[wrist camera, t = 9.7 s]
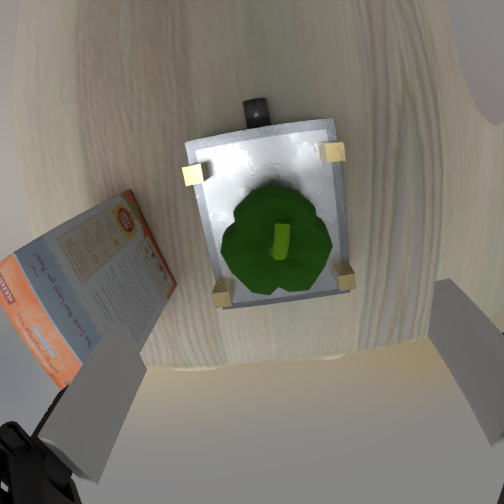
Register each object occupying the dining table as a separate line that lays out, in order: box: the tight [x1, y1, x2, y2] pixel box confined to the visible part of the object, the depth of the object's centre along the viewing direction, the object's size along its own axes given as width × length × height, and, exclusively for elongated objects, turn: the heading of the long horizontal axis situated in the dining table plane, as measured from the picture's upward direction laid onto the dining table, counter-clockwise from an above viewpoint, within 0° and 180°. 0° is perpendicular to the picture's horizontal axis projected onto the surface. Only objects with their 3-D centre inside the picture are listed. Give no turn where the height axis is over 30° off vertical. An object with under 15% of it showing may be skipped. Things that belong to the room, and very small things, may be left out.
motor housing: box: [182, 98, 355, 310], centre depth 30 cm, size 21×14×9 cm, turn 10°
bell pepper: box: [220, 184, 333, 295], centre depth 24 cm, size 8×8×10 cm
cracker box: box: [0, 190, 177, 390], centre depth 28 cm, size 14×6×21 cm, turn 21°
